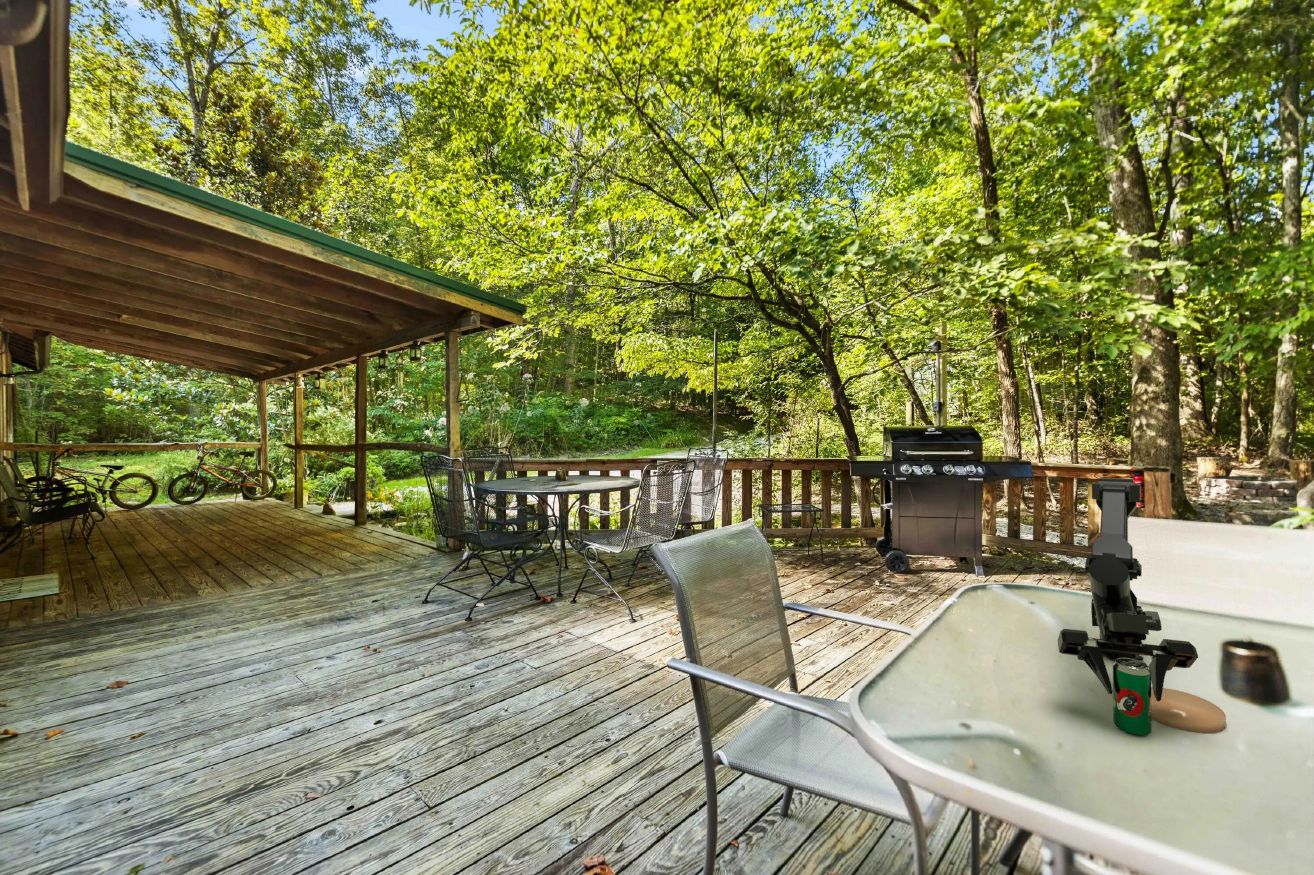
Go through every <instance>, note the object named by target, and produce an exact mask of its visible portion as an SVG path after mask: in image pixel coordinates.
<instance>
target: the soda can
mask: <svg viewBox="0 0 1314 875" xmlns="http://www.w3.org/2000/svg"><path fill="white" fill-rule="evenodd" d="M1148 666H1149V664H1147V663H1146V662H1144V661H1143V660H1136V659H1132V658H1125V657H1121V658H1117V659H1115V660H1114V663H1113V664H1112V691H1113V693H1112V710H1113V712H1112V713H1113V716H1112V718H1113V719H1112V720H1113V724H1114V726H1115V727H1116V728H1117V729H1118V730H1119V731H1121V732H1123V733H1125V734H1127V735H1130V736H1134V737H1140V738H1141V737H1143V738H1144V737H1147V736H1149V735H1150V734H1152V731H1153V730H1152V729H1153V728H1152V727H1153V725H1152V724H1153V722H1152V720H1153V719H1152V707H1151V687H1152V682H1151V672H1150V670H1149V667H1148Z"/></svg>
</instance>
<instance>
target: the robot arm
mask: <svg viewBox="0 0 1314 875" xmlns="http://www.w3.org/2000/svg"><path fill="white" fill-rule="evenodd" d="M1141 489H1142V488H1141V483H1135V482H1134V478H1119V477H1118V478H1117V477H1116V478H1114V477H1113V478H1112V477H1099V479H1098V481H1095V482H1094V481H1093V482H1091V499H1092V500H1095V502H1096V505H1097V507H1098V508H1099V510H1100V511H1101V512H1100V530H1099V537H1098V538H1096V539H1095V540H1094V541H1092V543H1091V553H1090V552H1089V553H1087V555H1086V558H1085V564H1084V569H1085V574H1089V575H1088V576H1089V582H1090V590H1091V595H1092V596H1091V597H1092V598H1091V604H1090V605H1091V607H1090V608H1091V625H1092V627H1098V630H1099V638H1095V637H1089V634H1088V632H1087V630H1081V629H1080V630H1079V629H1071V628H1070V629H1069V628H1063V629H1061V630H1060V632H1059V633H1058V634H1059V635H1058V639H1057V647H1058V652H1059V653H1060V654H1062V655H1070V656H1076V658H1077V660H1079V661H1084V662H1085V664H1086V665H1087V666H1088V668H1090V670H1091V671H1092V672H1093V673H1094V675H1095V676H1096V678H1097V679H1098V680H1099V682H1100V684H1101V685H1102V686H1103V688H1104V690H1105V691H1106V692H1107V694H1108V695H1110V696H1111V695H1112V696H1113V684H1112V682H1111V679H1110V676H1109V673H1108V670H1107V667H1106V663H1105V661H1104V660H1105V659H1104V656H1105V657H1106V658H1108V659H1109V660H1111V661H1115V659H1117V658H1121V657H1125V658H1132V659H1136V660H1139V661H1144V656H1147V657H1150V663H1149V664H1148V669H1149V670H1150V672H1151V687H1153V692H1154V695H1155V698H1156V700H1157V701H1160V700H1161V697H1162V691H1163V688H1164V684H1165V677H1166V674H1167V671H1169V672H1170V671H1171V670H1173V668H1177V669H1178V668H1179V669H1189V668H1191V667H1192V665H1193V664H1195V662H1196V660H1198V658H1199V654H1198V651H1197V648H1196V646H1194V644H1192V643H1191V642H1190V641H1186V640H1177V639H1169V638H1167V639H1166V638H1163V639H1162V640H1161V642H1159V645H1157V644H1147V643H1143V641H1146V640H1147V636H1149V635H1150V632H1149V631H1151V632H1152V631H1153V632H1161V631H1162V629H1163V628H1162V622H1161V619H1160V615H1159V611H1153V610H1152V611H1151V610H1144V611H1143V608H1142V605H1138V597H1137V596H1136V594H1135V592H1133V590H1132V588H1131V582H1132V581H1133V580H1138V577H1142V570H1143V569H1142V567H1143V566H1142V564H1141V563H1140V561H1139V560H1138V558H1136V557H1134V554H1133V553H1134V551H1133V549H1134V548H1133V545H1132V544H1131V543H1130V542H1129V528H1128V527H1129V518H1130V517H1131V516H1132V514H1133V513H1134V512H1135V510H1136V509H1137V504H1138V502H1141V498H1142V497H1141V494H1142V492H1141V491H1142V490H1141ZM1130 581H1131V582H1130ZM1103 654H1104V655H1103Z"/></svg>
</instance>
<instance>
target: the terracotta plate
mask: <svg viewBox="0 0 1314 875" xmlns="http://www.w3.org/2000/svg"><path fill="white" fill-rule="evenodd" d="M1151 707H1152V720H1153V721H1155V722H1157V723H1159V724H1162V725H1164V726H1167V727H1170V728H1173V729H1177V730H1182V731H1186V732H1191V733H1198V734H1215V733H1221V732H1223V731H1224V730H1225V729H1226V728H1227V716H1226V712H1224V711H1223V709H1221V708H1220V707H1219V706H1218V705H1217V704H1214V702H1211V701H1209V700H1207V699H1205V698H1203V697H1200V696H1198V695H1194V694H1192V693H1188V692H1185V691H1182V690H1178V689H1172V688H1166V687H1165V688H1164V687H1163V691H1162V697H1161V700H1160V701H1157V700H1156V698H1155V695H1154V692H1153V687H1152V686H1151Z"/></svg>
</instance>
